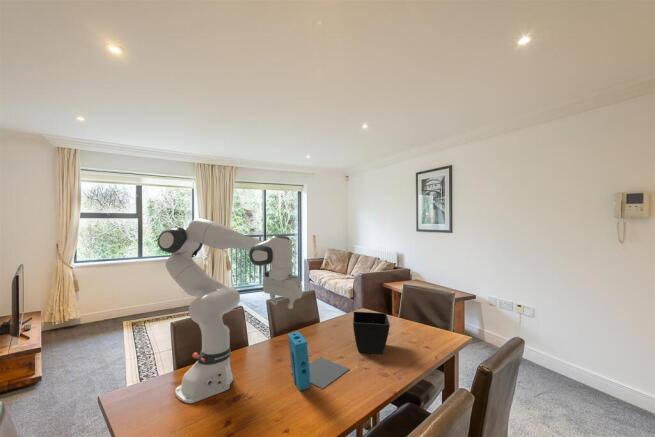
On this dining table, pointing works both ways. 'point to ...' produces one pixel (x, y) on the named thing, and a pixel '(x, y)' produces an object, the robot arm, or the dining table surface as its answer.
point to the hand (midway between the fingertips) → (282, 306)
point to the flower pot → (370, 331)
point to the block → (299, 360)
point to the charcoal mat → (325, 372)
